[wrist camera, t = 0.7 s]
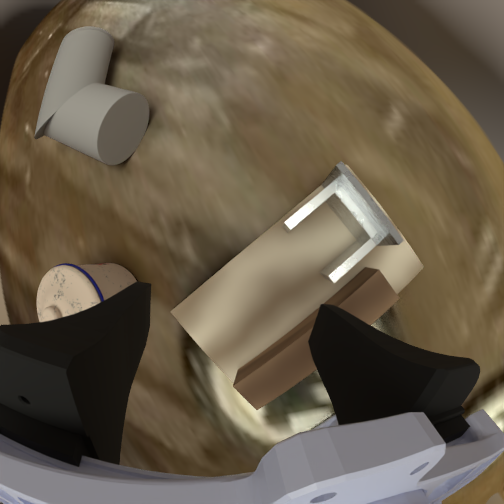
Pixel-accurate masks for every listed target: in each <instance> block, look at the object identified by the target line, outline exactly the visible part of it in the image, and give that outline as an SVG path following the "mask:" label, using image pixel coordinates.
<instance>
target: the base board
mask: <svg viewBox="0 0 504 504" xmlns="http://www.w3.org/2000/svg"><path fill="white" fill-rule="evenodd" d="M345 166H346V167H347V168H348V169H349V171H350V172H351V173H352V174H353V175H354V176H355V178H356V179H357V180H358V181H359V182H360V184H361V185H362V186H363V187H364V188H365V190H366V191H367V192H368V193H369V195H370V196H371V197H372V198H373V200H374V201H375V202H376V203H377V205H378V206H379V207H380V209H381V210H382V211H383V212H384V214H385V215H386V216H387V218H388V219H389V220H390V222H391V223H392V225H393V226H394V227H395V229H396V230H397V231H398V233H399V234H400V236H401V237H402V238H403V240H404V241H402V242H401V243H400V244H399V245H388V246H375V247H374V248H373V249H372V250H371V251H370V252H369V253H367V254H366V255H365V256H364V257H363V258H362V259H361V260H360V261H359V262H358V263H356V264H355V265H354V266H353V267H352V268H351V269H350V270H349V271H348V272H346V273H345V274H344V275H343V276H342V277H341V278H340V279H338V280H337V281H336V282H335V283H333V282H331V281H329V280H327V279H325V278H324V277H323V276H322V274H321V273H320V271H321V270H323V269H324V268H325V267H326V266H327V265H328V264H330V263H331V262H332V261H333V260H334V259H335V258H336V257H338V256H339V255H340V254H341V253H342V252H343V251H344V250H346V249H347V248H348V247H349V246H350V245H351V244H352V243H353V242H354V241H356V239H355V237H354V236H353V235H352V234H351V232H350V231H349V230H348V229H347V227H346V226H345V225H344V224H343V222H342V221H341V220H340V219H339V217H338V216H337V215H336V214H335V213H334V211H333V210H332V209H331V208H330V206H329V205H328V204H327V203H326V202H324V203H323V204H321V205H320V206H319V207H318V208H317V209H316V210H314V211H313V212H312V213H311V214H310V215H308V216H307V217H306V218H305V219H304V220H302V221H301V222H300V223H299V224H298V225H297V226H295V227H294V228H293V229H292V230H291V231H289V232H288V233H287V232H286V231H285V229H284V228H283V227H282V226H283V224H284V222H285V221H287V220H288V219H289V218H290V217H291V216H293V215H294V214H295V213H296V212H297V211H298V210H300V209H301V208H302V207H303V206H304V205H306V204H307V203H308V202H309V201H310V200H312V199H313V198H314V197H315V196H316V195H318V194H319V193H320V192H321V191H322V190H324V188H323V187H322V185H321V186H320V187H318V188H317V189H316V190H315V191H314V192H312V193H311V194H310V195H309V196H308V197H306V198H305V199H304V200H303V201H302V202H300V203H299V204H298V205H297V206H296V207H294V208H293V209H292V210H291V211H290V212H288V213H287V214H286V215H285V216H284V217H282V218H281V219H280V220H279V221H278V222H276V223H275V224H274V225H273V226H272V227H270V228H269V229H268V230H267V231H266V232H264V233H263V234H262V235H261V236H260V237H258V238H257V239H256V240H255V241H254V242H252V243H251V244H250V245H249V246H248V247H247V248H245V249H244V250H243V251H242V252H241V253H239V254H238V255H237V256H236V257H235V258H233V259H232V260H231V261H230V262H229V263H227V264H226V265H225V266H224V267H223V268H222V269H220V270H219V271H218V272H217V273H216V274H214V275H213V276H212V277H211V278H210V279H209V280H207V281H206V282H205V283H204V284H203V285H201V286H200V287H199V288H198V289H197V290H196V291H194V292H193V293H192V294H191V295H190V296H188V297H187V298H186V299H185V300H184V301H183V302H181V303H180V304H179V305H178V306H177V307H175V308H174V309H173V310H172V311H171V313H172V314H173V315H174V317H175V318H176V319H177V320H178V321H179V323H180V324H181V325H182V326H183V328H184V329H185V330H186V331H187V332H188V334H189V335H190V336H191V337H192V338H193V339H194V341H195V342H196V343H197V344H198V345H199V346H200V347H201V349H202V350H203V351H204V352H205V353H206V354H207V355H208V357H209V358H210V359H211V360H212V361H213V362H214V363H215V364H216V365H217V366H218V368H219V369H220V370H221V371H222V372H223V373H224V374H225V375H226V376H227V377H228V378H229V379H230V380H231V382H232V383H233V384H234V381H235V377H236V374H237V370H238V369H239V368H241V367H242V366H244V365H245V364H246V363H248V362H249V361H251V360H252V359H253V358H255V357H256V356H257V355H259V354H260V353H261V352H263V351H264V350H265V349H267V348H268V347H269V346H271V345H272V344H273V343H275V342H276V341H277V340H279V339H280V338H281V337H283V336H284V335H285V334H286V333H288V332H289V331H290V330H292V329H293V328H294V327H295V326H297V325H298V324H299V323H300V322H302V321H303V320H304V319H305V318H307V317H308V316H309V315H310V314H312V313H313V312H314V311H315V310H316V309H318V308H319V307H320V305H321V304H324V303H325V302H326V301H327V300H328V299H330V298H331V297H332V296H333V295H334V294H335V293H337V292H338V291H339V290H340V289H341V288H342V287H343V286H345V285H346V284H347V283H348V282H349V281H350V280H351V279H353V278H354V277H355V276H356V275H357V274H358V273H359V272H360V271H361V270H363V269H364V268H365V267H368V268H374V269H379V270H380V271H381V273H382V274H383V275H384V277H385V278H386V280H387V281H388V282H389V284H390V285H391V287H392V288H393V290H394V291H395V292H396V294H398V293H399V292H400V291H401V290H402V289H403V288H404V287H405V286H406V285H407V284H408V283H409V282H410V281H411V280H412V279H413V278H414V277H415V276H416V275H417V274H418V273H419V272H420V271H421V270H422V269H423V268H424V266H423V265H422V263H421V262H420V260H419V259H418V257H417V256H416V254H415V253H414V251H413V250H412V248H411V247H410V245H409V244H408V242H407V241H406V239H405V238H404V237H403V235H402V234H401V232H400V231H399V230H398V228H397V227H396V225H395V224H394V223H393V221H392V220H391V219H390V217H389V216H388V215H387V213H386V212H385V211H384V209H383V208H382V207H381V205H380V204H379V203H378V202H377V200H376V199H375V198H374V196H373V195H372V194H371V193H370V191H369V190H368V189H367V188H366V187H365V185H364V184H363V183H362V182H361V181H360V179H359V178H358V177H357V176H356V175H355V173H354V172H353V171H352V170H351V169H350V168H349V166H348V165H347V164H346V165H345Z"/></svg>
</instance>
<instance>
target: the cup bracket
mask: <svg viewBox="0 0 504 504" xmlns="http://www.w3.org/2000/svg"><path fill="white" fill-rule="evenodd" d="M322 187H323V188H324V190H322V191H321V192H320V193H319V194H318V195H316V196H315V197H314V198H313V199H312V200H310V201H309V202H308V203H307V204H306V205H304V206H303V207H302V208H301V209H300V210H298V211H297V212H296V213H295V214H294V215H293V216H291V217H290V218H289V219H288V220H287V221H285V222H284V224H283V226H282V227H283V228H284V229H285V231H286V232H287V233H288V232H289V231H291V230H292V229H293V228H294V227H295V226H297V225H298V224H299V223H300V222H301V221H302V220H304V219H305V218H306V217H307V216H308V215H310V214H311V213H312V212H313V211H314V210H316V209H317V208H318V207H319V206H320V205H321V204H323V203H324V202H326V203H327V204H328V205H329V206H330V208H331V209H332V210H333V211H334V213H335V214H336V215H337V216H338V217H339V219H340V220H341V221H342V222H343V224H344V225H345V226H346V227H347V229H348V230H349V231H350V232H351V234H352V235H353V236H354V237H355V239H356V241H354V242H353V243H352V244H351V245H350V246H349V247H348V248H347V249H346V250H344V251H343V252H342V253H341V254H340V255H339V256H338V257H336V258H335V259H334V260H333V261H332V262H331V263H330V264H328V265H327V266H326V267H325V268H324V269H323V270H321V271H320V273H321V274H322V276H323V277H324V278H325V279H327V280H329V281H331V282H333V283H335V282H336V281H337V280H338V279H340V278H341V277H342V276H343V275H344V274H345V273H346V272H348V271H349V270H350V269H351V268H352V267H353V266H354V265H355V264H356V263H358V262H359V261H360V260H361V259H362V258H363V257H364V256H365V255H366V254H367V253H369V252H370V251H371V250H372V249H373V248H374V247H375V246H388V245H399V244H400V243H401V242H402V241H404V240H403V238H402V237H401V236H400V234H399V233H398V231H397V230H396V229H395V227H394V226H393V225H392V223H391V222H390V220H389V219H388V218H387V216H386V215H385V214H384V212H383V211H382V210H381V209H380V207H379V206H378V205H377V203H376V202H375V201H374V200H373V198H372V197H371V196H370V195H369V193H368V192H367V191H366V190H365V188H364V187H363V186H362V185H361V184H360V182H359V181H358V180H357V179H356V178H355V176H354V175H353V174H352V173H351V172H350V171H349V169H348V168H347V167H346V166H345V165H344V164H343V163H342V161H341V162H340V163H338V164H337V165H336V166H335V167H334V169H333V170H332V171H331V173H330V174H329V175H328V177H327V178H326V179H325V181H324V182H323V183H322Z"/></svg>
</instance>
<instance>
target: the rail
mask: <svg viewBox="0 0 504 504" xmlns="http://www.w3.org/2000/svg"><path fill="white" fill-rule="evenodd" d="M398 299H399V297H398V295H397V294H396V292H395V291H394V290H393V288H392V287H391V285H390V284H389V282H388V281H387V280H386V278H385V277H384V275H383V274H382V273H381V271H380V270H379V269H374V268H368V267H365V268H364V269H363V270H361V271H360V272H359V273H358V274H357V275H356V276H355V277H354V278H353V279H351V280H350V281H349V282H348V283H347V284H346V285H345V286H343V287H342V288H341V289H340V290H339V291H338V292H337V293H335V294H334V295H333V296H332V297H331V298H330V299H328V300H327V301H326V302H325V303H324V304H331V305H335V306H337V307H340V308H342V309H343V310H345V311H347V312H349V313H350V314H352V315H354V316H355V317H357V318H359V319H360V320H362V321H364V322H365V323H367V324H369V325H371V324H372V323H374V322H375V321H376V320H377V319H378V318H379V317H380V316H381V315H382V314H384V313H385V312H386V311H387V310H388V309H389V308H390V307H391V306H392V305H393V304H394V303H395V302H396V301H397V300H398ZM319 308H320V307H319ZM319 308H318V309H316V310H315V311H314V312H313V313H312V314H310V315H309V316H308V317H307V318H305V319H304V320H303V321H302V322H300V323H299V324H298V325H297V326H295V327H294V328H293V329H292V330H290V331H289V332H288V333H286V334H285V335H284V336H283V337H281V338H280V339H279V340H277V341H276V342H275V343H273V344H272V345H271V346H269V347H268V348H267V349H265V350H264V351H263V352H261V353H260V354H259V355H257V356H256V357H255V358H253V359H252V360H251V361H249V362H248V363H246V364H245V365H244V366H242V367H241V368H239V369H238V370H237V374H236V377H235V381H234V384H233V387H234V388H235V389H236V390H237V391H238V392H239V393H240V394H241V395H242V396H243V397H244V398H245V399H246V400H247V401H248V402H249V403H250V404H251V405H252V406H253V407H254V408H255V409H256V410H258V409H260V408H261V407H263V406H264V405H266V404H267V403H269V402H270V401H272V400H274V399H275V398H277V397H278V396H280V395H281V394H283V393H284V392H285V391H287V390H288V389H290V388H291V387H293V386H294V385H296V384H297V383H298V382H300V381H301V380H303V379H304V378H305V377H307V376H308V375H309V374H311V373H312V372H314V371H315V370H316V369H317V368H316V366H315V364H314V361H313V358H312V355H311V352H310V347H309V343H308V340H309V338H310V335H311V332H312V329H313V326H314V323H315V320H316V317H317V314H318V311H319Z"/></svg>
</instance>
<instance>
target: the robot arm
mask: <svg viewBox="0 0 504 504" xmlns="http://www.w3.org/2000/svg"><path fill="white" fill-rule="evenodd" d="M150 300H151V284H150V283H143V282H135V283H133V284H131V285H130V286H128V287H126V288H125V289H123V290H122V291H120V292H118V293H117V294H115V295H113V296H112V297H110V298H108V299H106V300H104V301H102V302H100V303H98V304H96V305H95V306H92V307H90V308H88V309H86V310H83V311H80V312H78V313H75V314H72V315H69V316H65V317H62V318H58V319H54V320H50V321H44V322H38V323H31V324H16V325H1V326H0V502H2V503H4V504H442V502H441V501H442V500H444V499H445V498H447V497H448V496H450V495H451V494H453V493H455V492H456V491H458V490H459V489H461V488H462V487H463V486H465V485H466V484H468V483H469V482H471V481H472V480H474V479H475V478H476V477H477V476H478V475H479V474H480V473H482V472H483V471H484V470H485V469H486V468H487V467H488V466H489V465H490V464H491V463H492V462H493V461H494V460H495V459H496V458H497V457H498V456H499V455H500V454H501V453H502V452H503V451H504V433H503V432H502V431H501V430H500V428H499V427H498V426H497V425H496V424H495V422H494V421H493V420H492V419H491V418H490V417H489V415H488V414H487V413H486V412H485V411H484V410H483V409H482V410H479V411H477V412H475V413H473V414H471V415H469V416H468V417H467V418H466V419H464V418H463V417H462V414H463V413H464V408H463V407H462V406H461V405H462V403H463V402H464V401H465V399H466V398H467V396H468V395H469V393H470V392H471V390H472V389H473V387H474V386H475V384H476V382H477V380H478V378H479V374H480V366H479V365H478V364H477V363H476V362H475V361H474V360H472V359H470V358H463V357H455V356H448V355H443V354H439V353H434V352H431V351H427V350H424V349H421V348H418V347H415V346H412V345H409V344H407V343H404V342H402V341H400V340H397V339H395V338H393V337H391V336H389V335H387V334H385V333H383V332H381V331H379V330H377V329H376V328H374V327H372V326H370V325H369V324H367V323H365V322H364V321H362V320H360V319H359V318H357V317H355V316H354V315H352V314H350V313H349V312H347V311H345V310H343V309H342V308H340V307H337V306H335V305H331V304H321V305H320V308H319V311H318V314H317V317H316V320H315V323H314V326H313V329H312V332H311V335H310V338H309V340H308V343H309V347H310V352H311V355H312V358H313V361H314V364H315V366H316V368H317V370H318V373H319V375H320V377H321V379H322V381H323V384H324V386H325V388H326V390H327V392H328V395H329V397H330V399H331V402H332V404H333V408H334V411H335V415H333V416H332V417H330V418H329V419H327V420H326V421H324V422H323V423H321V424H320V425H318V426H317V427H315V428H314V429H312V430H309V431H305V432H300V433H297V434H295V435H293V436H291V437H289V438H287V439H285V440H283V441H281V442H278V443H277V444H276V445H275V446H274V447H273V448H272V449H271V450H270V451H269V452H268V453H267V454H266V455H265V456H264V457H263V458H262V459H261V461H260V463H259V465H258V467H257V469H256V471H255V472H250V473H243V474H236V475H228V476H219V477H199V476H187V475H177V474H168V473H160V472H154V471H147V470H142V469H136V468H131V467H126V466H121V465H119V462H120V451H121V442H122V433H123V426H124V420H125V413H126V408H127V402H128V397H129V393H130V389H131V385H132V383H133V380H134V377H135V374H136V371H137V368H138V365H139V363H140V360H141V357H142V354H143V351H144V348H145V346H146V341H147V337H148V332H149V327H150Z"/></svg>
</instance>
